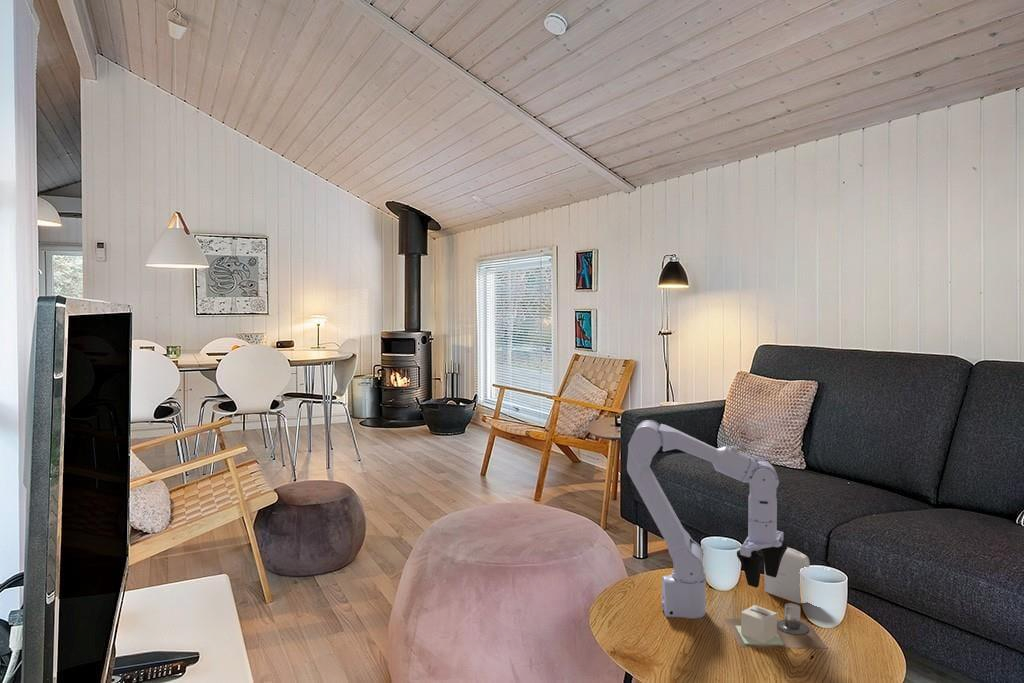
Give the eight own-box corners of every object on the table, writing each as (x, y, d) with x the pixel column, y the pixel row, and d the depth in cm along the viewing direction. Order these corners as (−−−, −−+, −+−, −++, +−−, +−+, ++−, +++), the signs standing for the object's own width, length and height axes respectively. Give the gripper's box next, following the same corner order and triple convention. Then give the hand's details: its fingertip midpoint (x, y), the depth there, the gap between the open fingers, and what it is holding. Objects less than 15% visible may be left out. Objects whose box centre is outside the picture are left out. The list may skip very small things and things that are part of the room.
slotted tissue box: (741, 634, 138) (741, 611, 137) (754, 626, 141) (754, 604, 141) (763, 643, 134) (763, 620, 134) (776, 635, 137) (776, 612, 137)
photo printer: (761, 595, 159) (761, 544, 158) (770, 590, 162) (771, 540, 161) (803, 610, 151) (803, 556, 150) (812, 605, 154) (813, 551, 153)
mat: (744, 644, 134) (744, 643, 134) (735, 626, 141) (735, 625, 141) (783, 645, 133) (783, 644, 133) (771, 627, 141) (771, 626, 141)
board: (739, 652, 133) (739, 646, 133) (724, 624, 145) (724, 618, 145) (828, 654, 132) (828, 648, 132) (806, 625, 144) (806, 620, 144)
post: (781, 634, 138) (781, 613, 137) (771, 620, 144) (772, 599, 144) (813, 635, 137) (814, 613, 137) (802, 620, 144) (802, 599, 143)
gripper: (762, 530, 136) (762, 596, 137) (797, 515, 146) (796, 577, 146) (731, 522, 141) (731, 586, 142) (766, 508, 151) (766, 567, 152)
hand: (762, 580), depth 145 cm, fingers open, 7 cm apart
